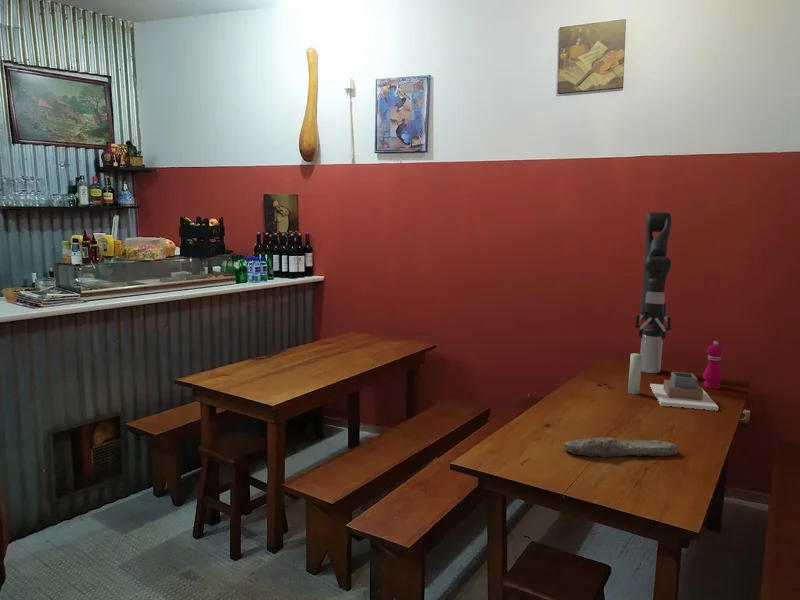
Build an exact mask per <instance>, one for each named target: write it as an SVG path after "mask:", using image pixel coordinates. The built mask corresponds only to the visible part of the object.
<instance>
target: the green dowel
mask: <svg viewBox="0 0 800 600" xmlns="http://www.w3.org/2000/svg"><path fill="white" fill-rule="evenodd" d="M629 360H630V361H629V373H628V387H627V394H630V393H632V394H631V395H639V394H640V389H641V376H642V375H641V374H642V371H641V365H642V355H641V354H640V353H635V352H633V353H630V359H629Z"/></svg>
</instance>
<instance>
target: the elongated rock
mask: <svg viewBox="0 0 800 600" xmlns="http://www.w3.org/2000/svg"><path fill="white" fill-rule="evenodd" d="M563 447H564V450H565V451H567V452H568V453H571V454H573V455H579V456H580V455H581V456H587V457H601V458H610V457H624V456H625V457H626V456H628V455H630V456H636V457H640V456H648V457H649V456H651V457H665V456H674V455H676V454H677V453H678V444H676V443H672V442H669V441H668V442H667V441H663V440H654V439H653V440H644V439H642V440H641V439H625V440H624V439H616V438H614V437H610V436H607V437H606V436H603V437H588V438H579V439H574V440H567V441H565V442H564V445H563Z"/></svg>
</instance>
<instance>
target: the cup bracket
mask: <svg viewBox="0 0 800 600" xmlns="http://www.w3.org/2000/svg"><path fill="white" fill-rule="evenodd" d="M649 387H651V388H650V389H652V390H651V392H652V393H653V395H654V394H655V395H654V396H655V398H656V400H657V399H658V400H657V402H658V401H659V402H658V403H659V405H660V406H661V407H670V406H672V408H673V407H674V408H681V407H684V409H692V408H694V410H695V409H696V410H703V409H705V410H707V411H714V410H715V412H716V411H717V412H719V406H718V405H717V404H716V402H715V401H714V400H713V399H712V398H711V397H710V396H709V395H708V393H707V392H706V391H705V390H704V389H703V388H702V387H701V386H700V385H699V384H698V378H697V377H696V375H695V374H694V373H693V372H679V371H671V372H670V379H664V380H663V384H660V383H659V384H658V383H650V384H649ZM705 410H704V411H705Z"/></svg>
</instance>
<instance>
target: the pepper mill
mask: <svg viewBox="0 0 800 600" xmlns="http://www.w3.org/2000/svg"><path fill="white" fill-rule="evenodd" d="M706 353H707V354H708V355H707V359H708V364H707V367H706V369H705V370H704V371H703V374H702V375H703V377H702V378H703V380H704V381H703V387H704V386H705V388H707V387H708V388H707V389H711V388H713V389H712V390H715V389H716V390H717V389H720V388H721V383H720V382H721V381H722V380H723V374H722V372H721V368H720V361H721V360H722V355H723V353H724V349H723V347H722V346H721V345H719V342H718V341H717V340H716V341H715V340H714V341H713V344H710V345H709V346H708V347H707V350H706Z"/></svg>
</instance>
